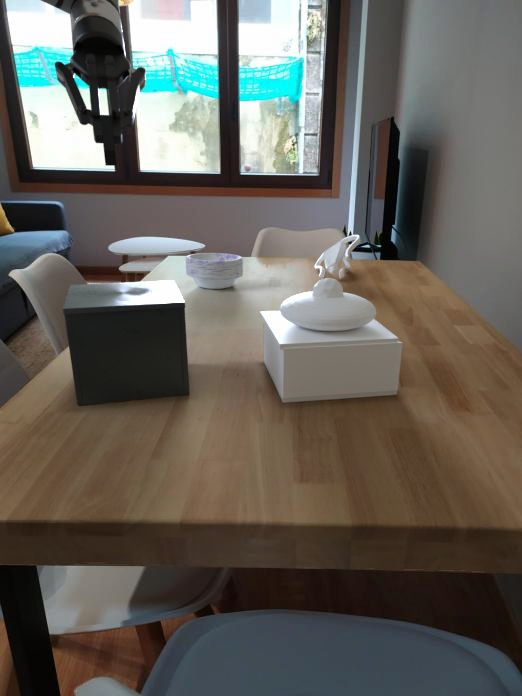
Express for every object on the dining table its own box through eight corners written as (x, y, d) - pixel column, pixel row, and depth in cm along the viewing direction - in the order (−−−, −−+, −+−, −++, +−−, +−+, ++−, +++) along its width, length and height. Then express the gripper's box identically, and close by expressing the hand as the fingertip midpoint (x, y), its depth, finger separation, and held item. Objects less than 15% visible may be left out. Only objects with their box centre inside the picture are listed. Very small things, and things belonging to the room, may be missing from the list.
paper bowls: (248, 281, 154) (248, 252, 151) (235, 293, 140) (235, 262, 137) (196, 278, 156) (195, 250, 153) (179, 290, 142) (177, 259, 139)
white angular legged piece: (373, 277, 152) (371, 250, 170) (355, 251, 149) (355, 226, 167) (324, 308, 159) (327, 279, 177) (306, 284, 155) (311, 257, 174)
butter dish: (397, 394, 81) (408, 289, 75) (279, 403, 78) (280, 293, 72) (359, 355, 97) (366, 266, 91) (260, 361, 94) (260, 268, 88)
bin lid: (185, 307, 74) (185, 302, 74) (63, 314, 70) (62, 308, 70) (174, 285, 87) (173, 280, 87) (70, 290, 83) (69, 284, 82)
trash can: (189, 394, 80) (184, 306, 75) (77, 405, 76) (63, 313, 71) (179, 363, 92) (174, 285, 87) (81, 371, 88) (70, 290, 83)
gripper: (47, 10, 78) (54, 135, 69) (141, 18, 81) (158, 137, 73) (56, 59, 84) (63, 177, 76) (142, 64, 88) (158, 178, 80)
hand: (110, 158), depth 75 cm, fingers closed
